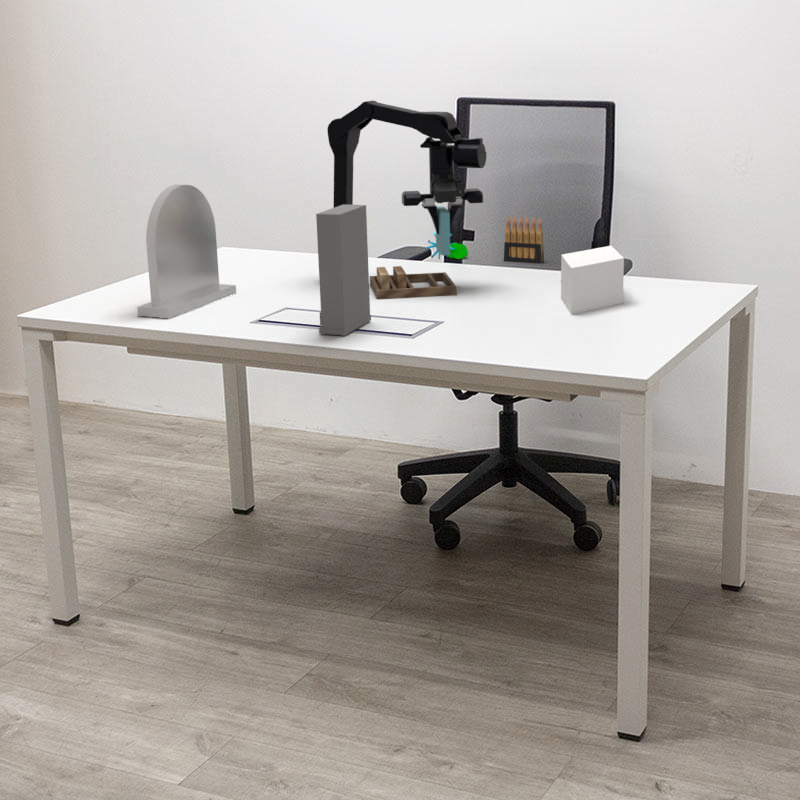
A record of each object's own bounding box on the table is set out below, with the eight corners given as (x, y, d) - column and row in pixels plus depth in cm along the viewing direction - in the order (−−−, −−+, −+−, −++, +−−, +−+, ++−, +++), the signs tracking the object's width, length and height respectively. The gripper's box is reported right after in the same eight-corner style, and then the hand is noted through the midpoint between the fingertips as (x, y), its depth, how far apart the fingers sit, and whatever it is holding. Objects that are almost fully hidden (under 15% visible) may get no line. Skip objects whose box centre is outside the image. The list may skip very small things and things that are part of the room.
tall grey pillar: (345, 319, 270) (340, 204, 262) (371, 321, 268) (366, 204, 260) (318, 334, 257) (312, 213, 250) (345, 336, 255) (339, 214, 248)
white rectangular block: (539, 312, 272) (539, 266, 269) (580, 286, 297) (581, 244, 294) (603, 317, 266) (604, 270, 263) (640, 290, 290) (641, 247, 288)
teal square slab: (441, 255, 293) (441, 212, 290) (436, 248, 302) (435, 206, 299) (450, 255, 293) (449, 212, 290) (444, 247, 302) (443, 206, 300)
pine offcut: (381, 296, 293) (380, 275, 291) (377, 287, 302) (376, 267, 301) (389, 295, 293) (389, 274, 291) (385, 287, 302) (384, 266, 301)
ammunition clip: (503, 261, 330) (503, 215, 326) (506, 260, 331) (506, 214, 328) (541, 263, 325) (541, 217, 322) (544, 262, 327) (544, 216, 323)
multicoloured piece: (420, 250, 336) (433, 226, 337) (425, 261, 343) (437, 236, 344) (460, 265, 332) (473, 240, 334) (464, 275, 339) (476, 250, 340)
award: (205, 291, 303) (196, 177, 295) (236, 293, 299) (228, 178, 291) (136, 316, 279) (124, 192, 271) (169, 319, 275) (158, 193, 267)
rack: (377, 299, 289) (376, 290, 288) (370, 284, 306) (369, 276, 305) (456, 294, 291) (456, 286, 290) (445, 280, 308) (445, 272, 307)
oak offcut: (398, 295, 293) (397, 274, 292) (393, 286, 303) (393, 266, 301) (406, 294, 293) (406, 273, 292) (401, 286, 303) (401, 266, 301)
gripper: (405, 172, 283) (407, 240, 288) (486, 169, 285) (487, 237, 290) (400, 167, 294) (402, 233, 299) (478, 164, 296) (479, 229, 300)
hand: (442, 233), depth 297 cm, fingers closed on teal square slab, 2 cm apart
